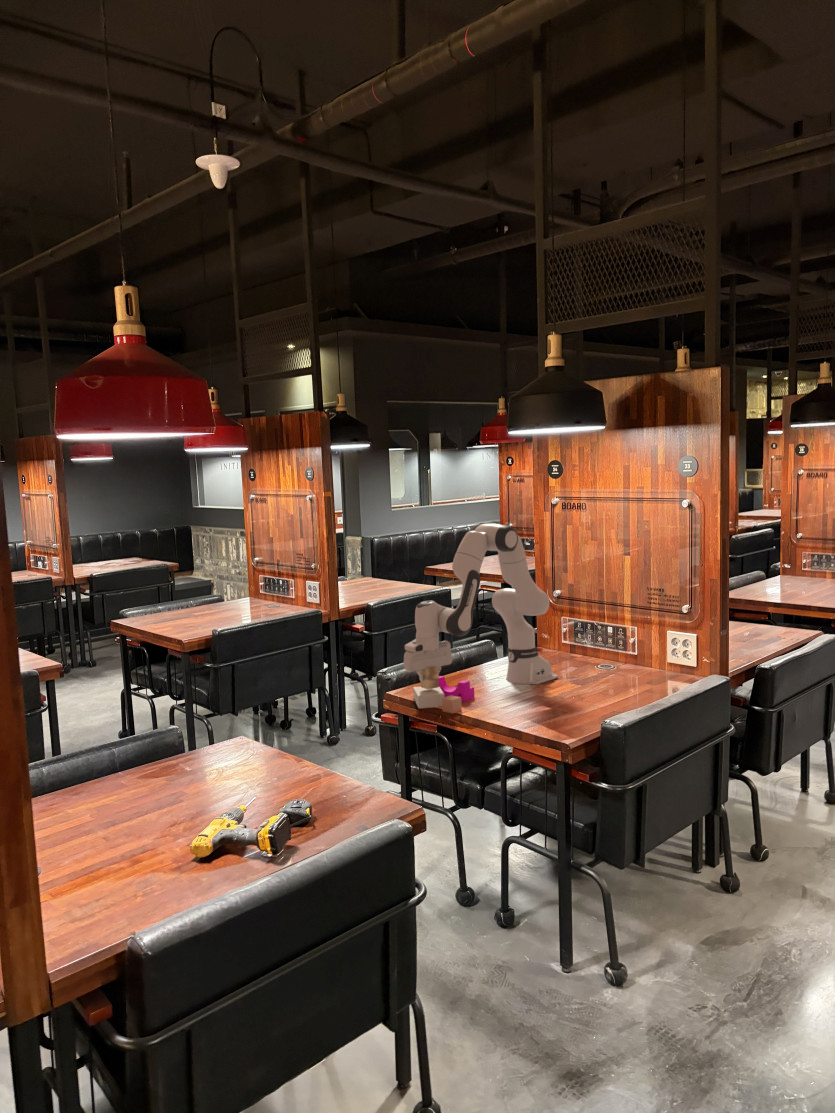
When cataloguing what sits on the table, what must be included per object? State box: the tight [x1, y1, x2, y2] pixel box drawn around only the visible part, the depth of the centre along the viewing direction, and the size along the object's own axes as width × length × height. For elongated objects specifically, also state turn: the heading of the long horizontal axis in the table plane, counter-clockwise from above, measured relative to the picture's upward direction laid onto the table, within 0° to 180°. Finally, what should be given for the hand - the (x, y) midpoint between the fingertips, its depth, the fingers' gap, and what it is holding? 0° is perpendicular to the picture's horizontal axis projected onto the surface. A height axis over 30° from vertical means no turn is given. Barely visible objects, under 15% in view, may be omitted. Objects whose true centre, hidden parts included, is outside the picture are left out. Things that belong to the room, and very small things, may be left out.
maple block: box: [420, 666, 439, 689], centre depth 306 cm, size 5×5×8 cm
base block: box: [412, 686, 445, 709], centre depth 307 cm, size 10×14×5 cm
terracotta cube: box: [441, 695, 463, 714], centre depth 294 cm, size 5×5×5 cm
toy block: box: [438, 675, 475, 703], centre depth 313 cm, size 15×6×8 cm, turn 47°
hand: (429, 679), depth 306 cm, fingers closed on maple block, 5 cm apart
